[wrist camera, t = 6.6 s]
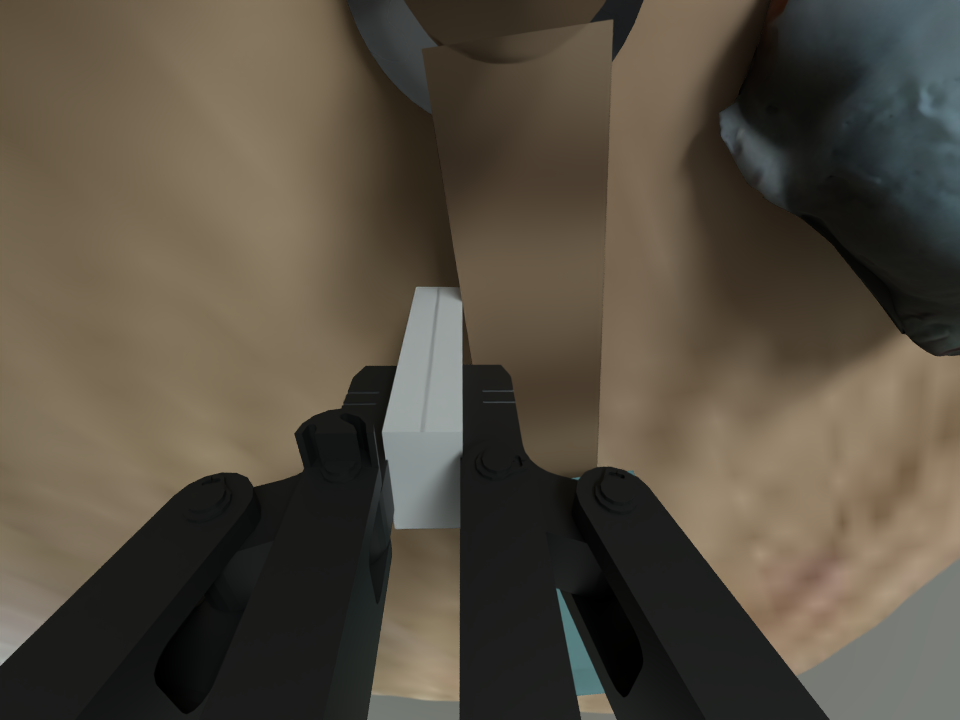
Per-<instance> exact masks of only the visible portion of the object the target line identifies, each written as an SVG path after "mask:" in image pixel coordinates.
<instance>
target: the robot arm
mask: <svg viewBox="0 0 960 720" xmlns="http://www.w3.org/2000/svg"><path fill="white" fill-rule="evenodd" d="M295 438H296V441H297V445H298V448H299V452H300V455H301V459H302V462H303V466H304V470H303V472H301V473H299V474H297V475H296V476H293V477H290V478H287V479H284V480H280V481H276V482H272V483H268V484H265V485H261V486H257V487H253V485H252V484H251V482H250V481H249V479H248V478H247V477H245V476H243V475H240V474H238V473H218V474H214V475H210V476H206V477H203V478H201V479H199V480H197V481H195V482H193V483H191V484H189V485H187V486H186V487H185V488H183V489H182V490H181V491H179V492H178V493H177V494H176V495H174V496H173V497H172V498H171V499H170V500H169V501H168V502H167V503H166V504H165V505H164V506H163V507H162V508H161V509H160V510H159V511H158V512H157V513H156V514H155V515H154V516H153V517H152V518H151V519H150V520H149V521H148V522H147V523H146V524H145V525H144V526H143V527H142V528H141V529H140V530H139V531H138V532H136V533H135V534H134V535H133V536H132V537H131V538H130V539H129V540H128V541H127V542H126V543H125V544H124V545H123V546H122V547H121V548H120V549H119V550H118V551H117V552H116V553H115V554H114V555H113V556H112V557H111V558H110V559H109V560H108V561H107V562H106V563H105V564H104V565H103V566H102V567H101V568H100V569H99V570H98V571H97V572H96V573H95V574H94V575H93V576H92V577H91V578H90V579H89V580H88V581H87V582H86V583H84V584H83V585H82V586H81V587H80V588H79V589H78V590H77V591H76V592H75V593H74V594H73V595H72V596H71V597H70V598H69V599H68V600H67V601H66V602H65V603H64V604H63V605H62V606H61V607H60V608H59V609H58V610H57V611H56V612H55V613H54V614H53V615H52V616H51V617H50V618H49V619H48V620H47V621H46V622H45V623H44V624H43V625H42V626H41V627H40V628H39V629H38V630H37V631H36V632H35V633H33V634H32V635H31V636H30V637H29V638H28V639H27V640H26V641H25V642H24V643H23V644H22V645H21V646H20V647H19V648H18V649H17V650H16V651H15V652H14V653H13V654H12V655H11V656H10V657H9V658H8V659H7V660H6V661H5V662H4V663H3V664H2V665H1V666H0V720H367V716H368V710H369V703H370V697H371V690H372V684H373V677H374V670H375V664H376V657H377V651H378V644H379V637H380V631H381V624H382V618H383V611H384V604H385V598H386V591H387V585H388V578H389V571H390V565H391V558H392V547H391V538H390V535H391V528H392V522H393V517H394V525H395V529H426V528H427V529H434V528H460V720H581V716H580V711H579V706H578V700H577V695H576V690H575V684H574V679H573V674H572V669H571V663H570V658H569V653H568V648H567V642H566V637H565V632H564V627H563V621H562V616H561V611H560V605H559V600H558V595H557V590H556V588H557V589H560V592H561V594H562V597H563V599H564V601H565V603H566V606H567V608H568V610H569V612H570V615H571V617H572V619H573V621H574V624H575V626H576V628H577V631H578V633H579V635H580V637H581V640H582V642H583V644H584V646H585V649H586V651H587V653H588V655H589V658H590V660H591V662H592V664H593V667H594V669H595V671H596V674H597V676H598V678H599V680H600V683H601V685H602V687H603V689H604V692H605V694H606V696H607V698H608V701H609V703H610V705H611V707H612V710H613V712H614V714H615V716H616V719H617V720H829V718H828V717H827V716H826V714H825V713H824V712H823V710H822V709H821V708H820V707H819V705H818V704H817V703H816V701H815V700H814V699H813V698H812V696H811V695H810V694H809V692H808V691H807V690H806V689H805V687H804V686H803V685H802V683H801V682H800V681H799V680H798V678H797V677H796V676H795V674H794V673H793V672H792V671H791V669H790V668H789V667H788V665H787V664H786V663H785V662H784V660H783V659H782V658H781V656H780V655H779V654H778V653H777V651H776V650H775V649H774V647H773V646H772V645H771V644H770V642H769V641H768V640H767V639H766V637H765V636H764V635H763V633H762V632H761V631H760V630H759V628H758V627H757V626H756V624H755V623H754V622H753V621H752V619H751V618H750V617H749V615H748V614H747V613H746V612H745V610H744V609H743V608H742V606H741V605H740V604H739V603H738V601H737V600H736V599H735V597H734V596H733V595H732V594H731V592H730V591H729V590H728V588H727V587H726V586H725V585H724V583H723V582H722V581H721V579H720V578H719V577H718V576H717V574H716V573H715V572H714V570H713V569H712V568H711V567H710V565H709V564H708V563H707V561H706V560H705V559H704V558H703V556H702V555H701V554H700V552H699V551H698V550H697V549H696V547H695V546H694V545H693V543H692V542H691V541H690V540H689V538H688V537H687V536H686V534H685V533H684V532H683V531H682V529H681V528H680V527H679V526H678V524H677V523H676V522H675V520H674V519H673V518H672V517H671V515H670V514H669V513H668V511H667V510H666V509H665V508H664V506H663V505H662V504H661V502H660V501H659V500H658V499H657V497H656V496H655V495H654V493H653V492H652V491H651V490H650V488H649V487H648V486H647V485H646V484H645V483H644V482H642V481H641V480H640V479H639V478H638V477H636V476H634V475H633V474H631V473H629V472H627V471H625V470H622V469H618V468H613V467H596V468H593V469H591V470H588V471H586V472H584V474H583V475H582V476H581V477H580V478H579V480H576V479H572V478H568V477H564V476H560V475H557V474H554V473H551V472H548V471H546V470H544V469H542V468H541V467H539V466H537V465H536V464H535V463H534V462H533V461H532V460H530V458H529V456H528V455H527V454H526V452H525V450H524V447H523V443H522V437H521V431H520V425H519V420H518V414H517V408H516V403H515V396H514V392H513V385H512V379H511V376H510V374H509V373H508V372H507V371H506V370H505V369H504V368H503V366H502V365H462V297H461V291H460V287H416V289H415V294H414V298H413V302H412V306H411V311H410V315H409V319H408V323H407V328H406V332H405V336H404V340H403V345H402V349H401V353H400V357H399V362H398V366H365V367H364V368H363V369H362V370H361V371H360V372H359V373H358V374H357V375H355V376H354V377H353V379H352V382H351V384H350V387H349V390H348V394H347V395H346V398H345V400H344V405H342V408H341V409H336V410H328V411H326V412H323V413H320V414H317V415H314V416H313V417H311V418H310V419H308V420H307V421H305V422H304V423H302V425H301V426H300V427H299V428H298V430H297V431H296V432H295Z"/></svg>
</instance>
